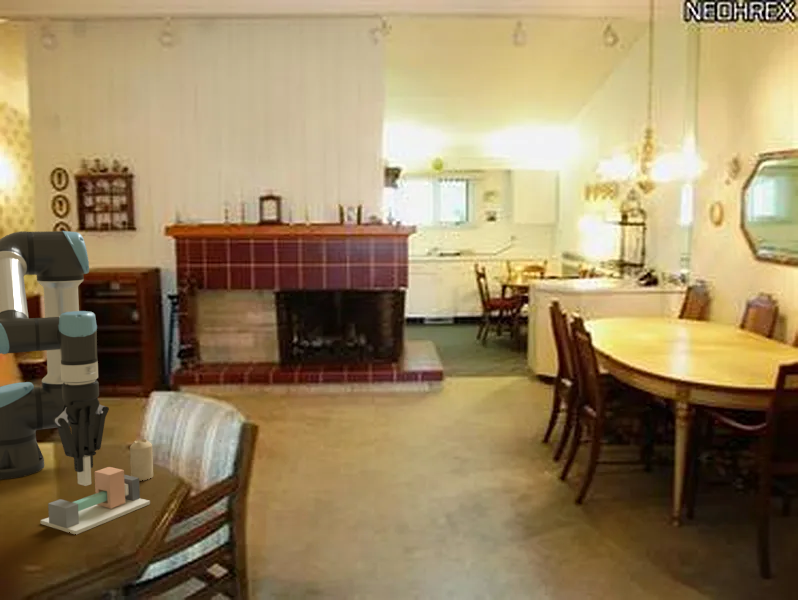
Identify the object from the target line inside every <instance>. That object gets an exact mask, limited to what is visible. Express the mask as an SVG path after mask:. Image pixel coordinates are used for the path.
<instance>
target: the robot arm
mask: <svg viewBox="0 0 798 600" xmlns="http://www.w3.org/2000/svg"><path fill="white" fill-rule="evenodd" d="M89 264H90V261H89V256H88V250H87V246H86V242H85V239H84V236H83V235H82V234H81V233H80V232H77V231H68V230H67V231H66V230H59V231H57V230H55V231H53V230H52V231H27V230H26V231H16V232H12V233H9V234H7V235H4V236H3V237H2V238H0V354H2V355H7V354H17V353H27V352H41V351H46V365H47V374H46V375H44V377H43V378H42V379H41V386H37V387H34V386H35V385H34V383H33V382H30V381H26V382H25V381H24V382H14V383H10V384H6V385H5V384H4V385H3V386H0V480H10V479H16V478H23V477H25V476H30V475H34V474H35V473H38V472H40V471H42V470H43V469H44V468H45V457H44V456H43V452H42V451H41V449H40V446H39V443H38V442H37V436H36V431H39V430H40V431H41V430H46V429H54V428H57V430H58V434H59V438H60V441H61V444H62V448H63V452H64V455H65V457H70V458H73V463H74V467H73V468H74V471H75V472H77V485H81V486H85V487H88V486H89V485H92V469H93V467H94V456H96V454H97V451H99V450H101V446H102V441H103V434H104V430H105V429H104V427H105V422H106V416H107V415H108V413H109V411H110V408H109V407H108V406H105V405H102V404H100V401H99V400H100V399H98V397H99V396H100V386H99V385H100V383H99V381H98V380H97V379H99V363H98V362H99V361H98V345H97V344H98V342H97V341H98V339H97V337H98V336H97V333H98V332H97V331H98V330H97V329H98V325H97V320H96V314H95V313H94V312H92V311H88V310H87V311H86V310H80V305H79V286H80V285H81V283H83V282H84V280H85V279H84V275H86V274H89V272H90V265H89ZM24 276H36V282H37V283H38V284H39V285H41V286H42V289H43V299H44V300H43V304H44V306H43V307H44V317H35V318H34V317H33V318H29V312H28V301H27V295H26V288H25V287H26V284H25V278H24Z"/></svg>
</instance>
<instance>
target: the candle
mask: <svg viewBox="0 0 798 600" xmlns="http://www.w3.org/2000/svg"><path fill="white" fill-rule="evenodd" d="M129 456H130V457H129V458H130V476H133V477H137V478H139V482H140V481H141V482H143V481H147V479H148V480H150V478H151V479H152V478H153V477H154V460H153V444H152V443H151V442H150V441H149V440H147V439H145V438H142V439H141V438H140V439H138V440H134V441H133V443H131V445H130V446H129ZM142 480H143V481H142Z"/></svg>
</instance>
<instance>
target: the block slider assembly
mask: <svg viewBox="0 0 798 600" xmlns="http://www.w3.org/2000/svg"><path fill="white" fill-rule="evenodd" d="M124 483H125V503H124V504H121V505H119V506H116V507H114V508H107V507H103V506H100V505H96V504H99V503H102V502H104V501H107V491H102V492H99V493H93V494H91V495H88V496H85V497H83V498H80V499H78V500H73V501H69V500H65V499H61V498H59V499H57V500H54V501H51V502H48V503H47V506H48V508H47V509H48V517H46V518H42V519H40V525H44V526H47V527H50V528H53V529H55V530H60V531H63V532H66V533H69V532H70V533H69V534H73V535H75V534H76V535H79V534H81V533H84V532H86V531H88V530H91V529H93V528H96V527H98V526H101V525H103V524H105V523H108V522H111V521H113V520H115V519H118V518H119V517H122V516H125V515H127V514H129V513H132V512H134V511H137V510H140V509H141V508H144V507H146V506H149V505H150V504H151V500H148V499H144V498H141V496H140V495H141V494H140V493H141V491H140V490H141V489H140V481H139V478H137V477H133V476H131V475H128V474H124Z"/></svg>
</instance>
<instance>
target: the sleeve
mask: <svg viewBox="0 0 798 600" xmlns="http://www.w3.org/2000/svg"><path fill="white" fill-rule="evenodd" d="M124 475H125V470H124V469H121V468H117V467H116V468H115V467H112V466H107V467H104V468H102V469H98V470H95V471H94V488H95V489H94V491H95V493H94V494H96V493H99V492H102V491H107V501H104V502H102V503H99V504H96V505H100V506H103V507H107V508H114V507H116V506H119V505H121V504H124V503H125V483H124Z"/></svg>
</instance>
